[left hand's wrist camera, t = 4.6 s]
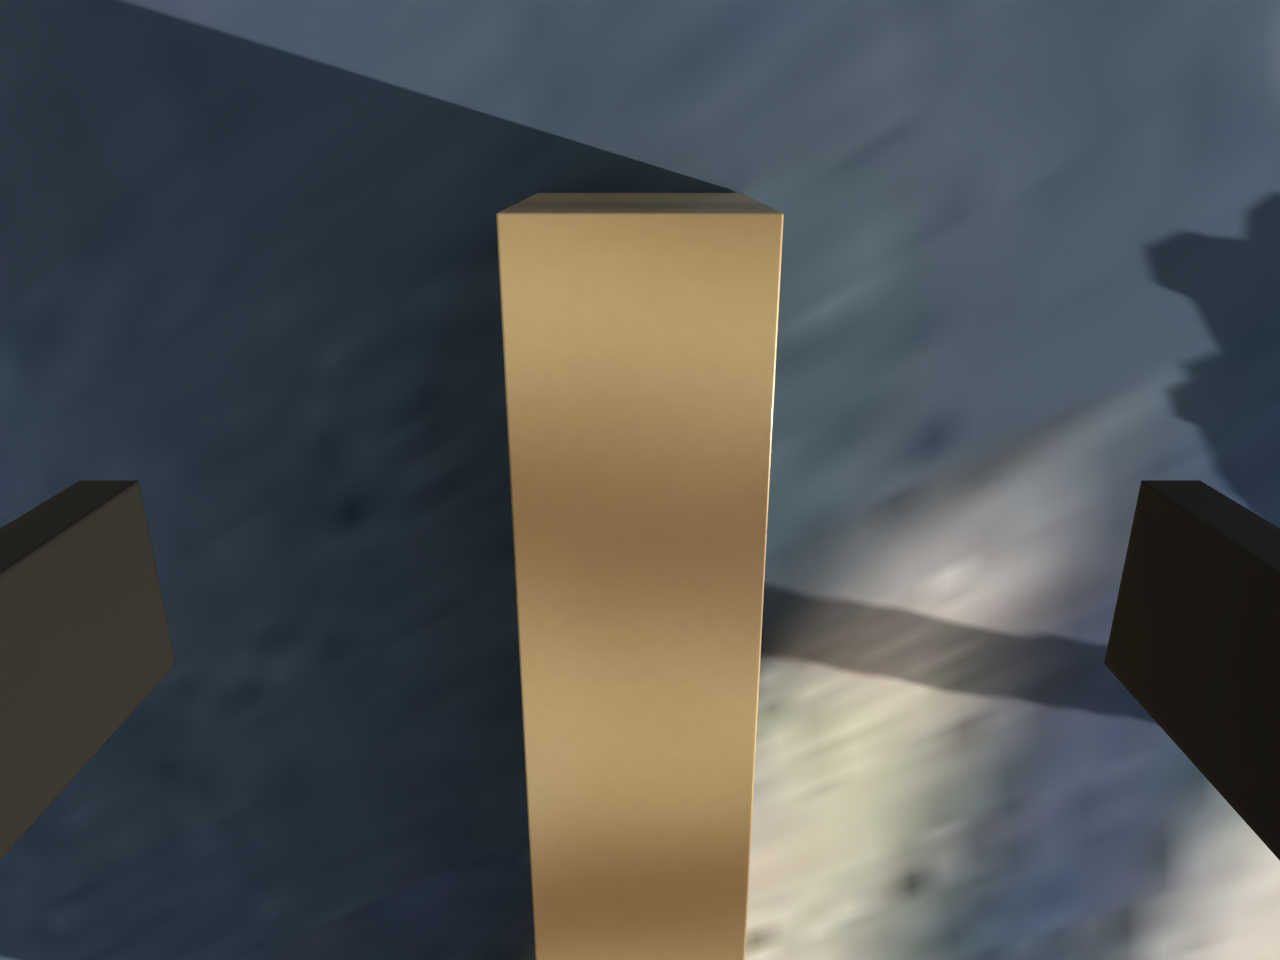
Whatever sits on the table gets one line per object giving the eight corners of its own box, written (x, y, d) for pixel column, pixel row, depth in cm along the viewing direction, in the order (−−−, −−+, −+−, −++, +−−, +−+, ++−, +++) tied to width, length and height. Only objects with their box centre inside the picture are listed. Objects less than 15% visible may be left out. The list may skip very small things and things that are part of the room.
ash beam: (536, 192, 26) (495, 212, 19) (743, 193, 26) (784, 212, 19) (569, 1075, 39) (552, 1297, 31) (710, 1075, 39) (727, 1297, 31)
